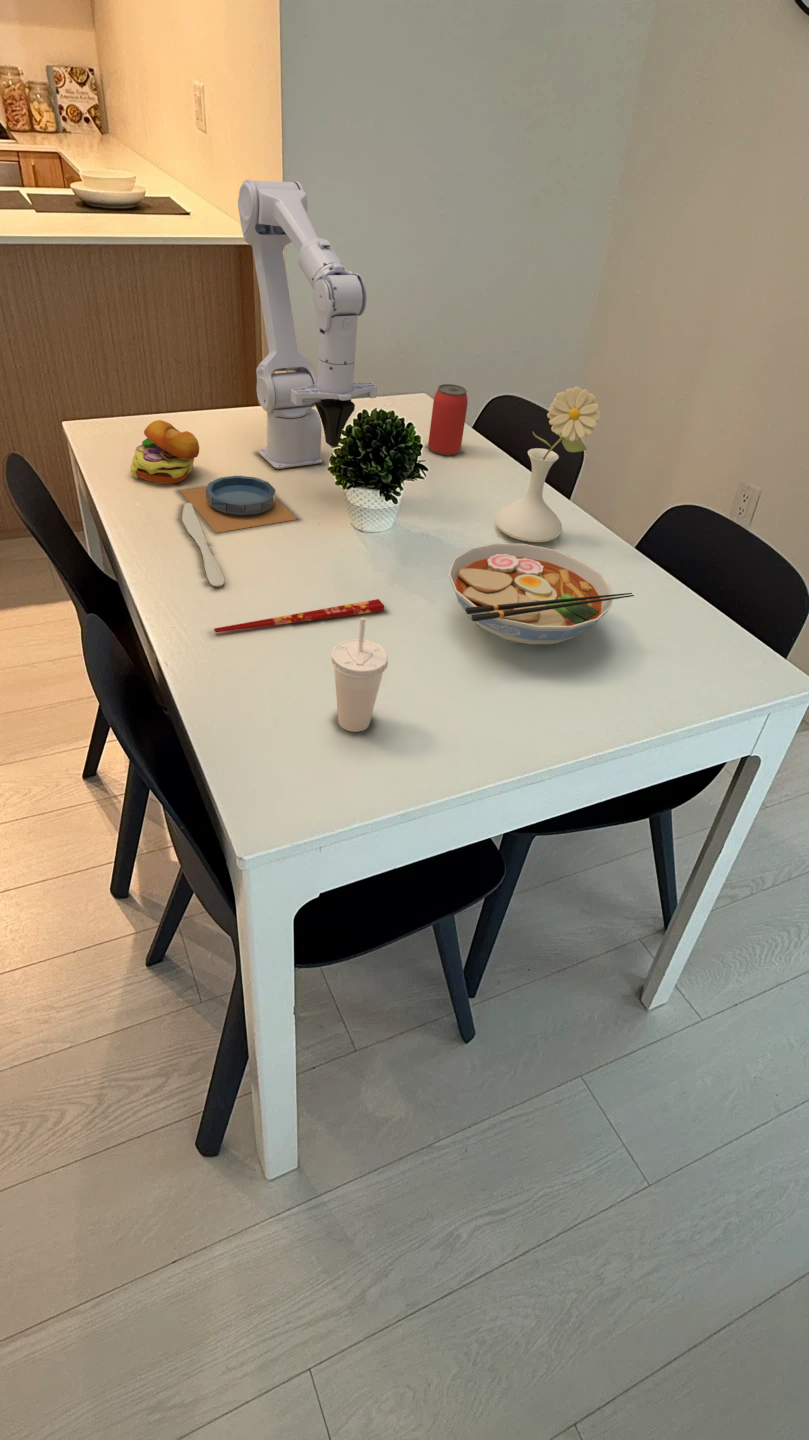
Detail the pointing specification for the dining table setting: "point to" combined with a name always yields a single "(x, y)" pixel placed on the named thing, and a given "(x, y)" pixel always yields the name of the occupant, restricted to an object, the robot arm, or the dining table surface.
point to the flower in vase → (531, 514)
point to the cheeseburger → (165, 454)
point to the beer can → (448, 419)
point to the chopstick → (312, 615)
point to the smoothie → (357, 679)
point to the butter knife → (202, 545)
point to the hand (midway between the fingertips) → (331, 443)
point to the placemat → (232, 521)
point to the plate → (240, 495)
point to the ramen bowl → (529, 592)
